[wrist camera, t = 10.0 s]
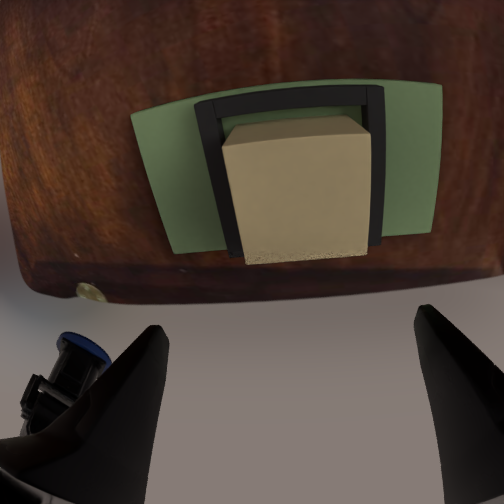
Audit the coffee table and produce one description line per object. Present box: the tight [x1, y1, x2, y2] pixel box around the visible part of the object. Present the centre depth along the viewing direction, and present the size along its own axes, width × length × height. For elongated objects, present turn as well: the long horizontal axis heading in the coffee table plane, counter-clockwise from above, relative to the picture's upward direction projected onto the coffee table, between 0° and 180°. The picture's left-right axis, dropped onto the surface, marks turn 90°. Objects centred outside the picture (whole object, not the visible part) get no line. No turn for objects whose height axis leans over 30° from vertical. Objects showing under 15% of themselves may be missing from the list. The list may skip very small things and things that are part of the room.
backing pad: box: [130, 79, 442, 258], centre depth 16 cm, size 18×10×2 cm, turn 99°
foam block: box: [222, 115, 371, 265], centre depth 14 cm, size 6×6×4 cm
